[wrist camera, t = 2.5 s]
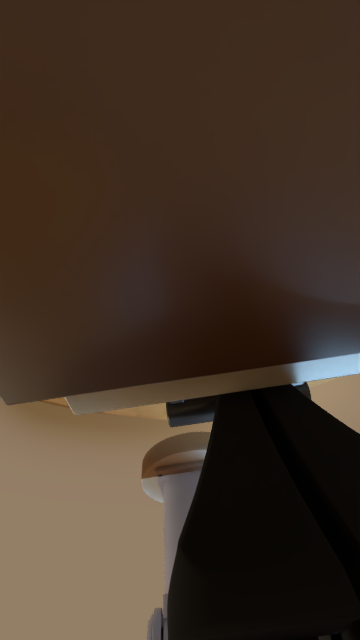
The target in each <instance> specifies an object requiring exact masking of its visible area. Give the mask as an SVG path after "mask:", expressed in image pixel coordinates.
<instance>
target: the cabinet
mask: <svg viewBox="0 0 360 640" xmlns="http://www.w3.org/2000/svg"><path fill="white" fill-rule="evenodd" d="M359 353H360V0H0V398H1V400H2V401H3V402H4V403H5V404H6V405H13V404H20V403H27V402H34V401H41V400H47V399H54V398H61V397H68V396H74V395H81V394H88V393H95V392H102V391H108V390H115V389H122V388H129V387H136V386H142V385H149V384H156V383H163V382H169V381H176V380H183V379H190V378H197V377H203V376H210V375H217V374H224V373H230V372H237V371H244V370H251V369H258V368H264V367H271V366H278V365H285V364H291V363H298V362H305V361H312V360H319V359H325V358H332V357H339V356H346V355H352V354H359Z"/></svg>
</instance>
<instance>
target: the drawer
mask: <svg viewBox="0 0 360 640" xmlns="http://www.w3.org/2000/svg"><path fill="white" fill-rule="evenodd" d="M355 374H360V353H359V354H352V355H346V356H339V357H332V358H325V359H319V360H312V361H305V362H298V363H291V364H285V365H278V366H271V367H264V368H258V369H251V370H244V371H237V372H230V373H224V374H217V375H210V376H203V377H197V378H190V379H183V380H176V381H169V382H163V383H156V384H149V385H142V386H136V387H129V388H122V389H115V390H108V391H102V392H95V393H88V394H81V395H74V396H68V397H64V398H65V400H66V402H67V404H68V405H69V407H70V409H71V411H72V412H73V414H74V415H83V414H89V413H96V412H103V411H110V410H117V409H124V408H130V407H137V406H144V405H151V404H158V403H164V402H166V410H167V417H168V422H169V425H170V427H177V426H184V425H191V424H197V423H205V422H212V421H213V420H214V414H215V407H216V399H217V395H219V394H226V393H233V392H240V391H246V390H253V389H260V388H267V387H274V386H280V385H287V384H292V385H293V386H295V387H296V388H297V389H298V390H299V391H301V392H302V393H303V394H304V395H306V396H307V397H308V398H309V399H311V394H310V390H309V387H308V384H307V382H308V381H315V380H321V379H328V378H335V377H342V376H349V375H355Z"/></svg>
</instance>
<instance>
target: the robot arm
mask: <svg viewBox="0 0 360 640" xmlns="http://www.w3.org/2000/svg"><path fill="white" fill-rule="evenodd" d="M155 476H156V478H157V481H158V484H159V487H160V489H161V492H162V495H163V498H164V543H165V545H164V546H165V594H164V595H163V606H164V608H163V612H164V613H163V614H164V615H163V614H162V608H155V610H154V614H153V615H152V616H151V618H150V620H149V622H148V630H147V640H360V434H359V433H357V432H356V431H354V430H352V429H351V428H350V427H348V426H347V425H345V424H344V423H342V422H340V421H339V420H338V419H336V418H335V417H333V416H332V415H331V414H329V413H328V412H327V411H325V410H324V409H322V408H321V407H320V406H318V405H317V404H315V403H314V402H313V401H312V400H311V399H309V398H308V397H307V396H306V395H304V394H303V393H302V392H301V391H299V390H298V389H297V388H296V387H295V386H293V385H292V384H287V385H280V386H274V387H267V388H260V389H253V390H246V391H240V392H233V393H226V394H219V395H217V399H216V407H215V414H214V420H213V425H212V430H211V435H210V439H209V443H208V448H207V452H206V456H205V460H204V461H197V462H190V463H184V464H177V465H170V466H163V467H157V468H156V469H155Z"/></svg>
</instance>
